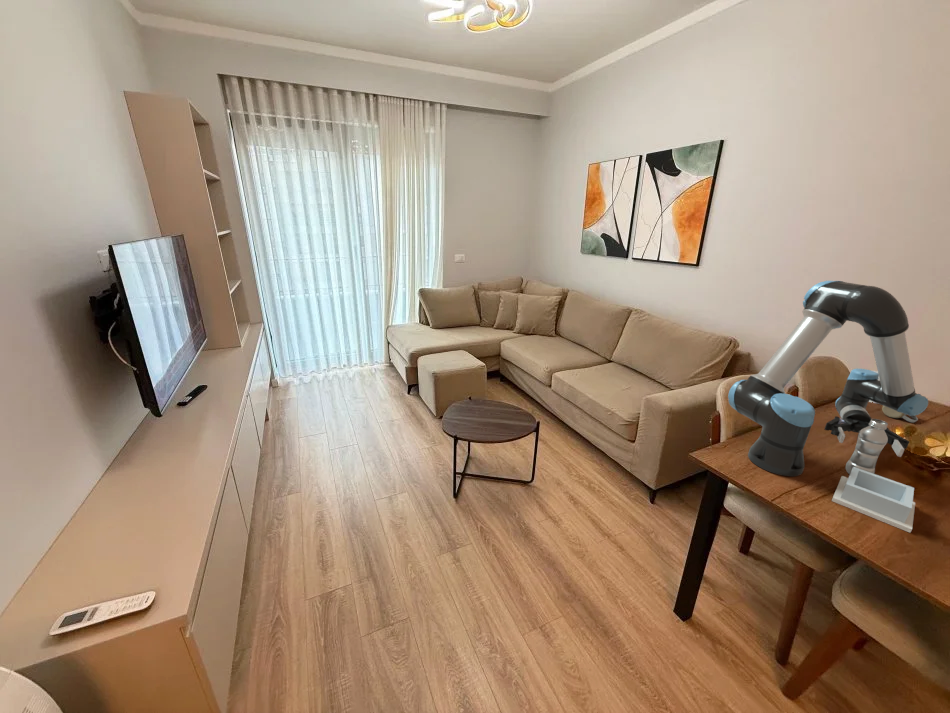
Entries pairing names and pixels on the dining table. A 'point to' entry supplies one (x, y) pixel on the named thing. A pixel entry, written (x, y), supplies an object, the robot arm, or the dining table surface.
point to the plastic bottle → (868, 446)
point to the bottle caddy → (877, 498)
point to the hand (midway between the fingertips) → (870, 445)
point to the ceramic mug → (898, 414)
